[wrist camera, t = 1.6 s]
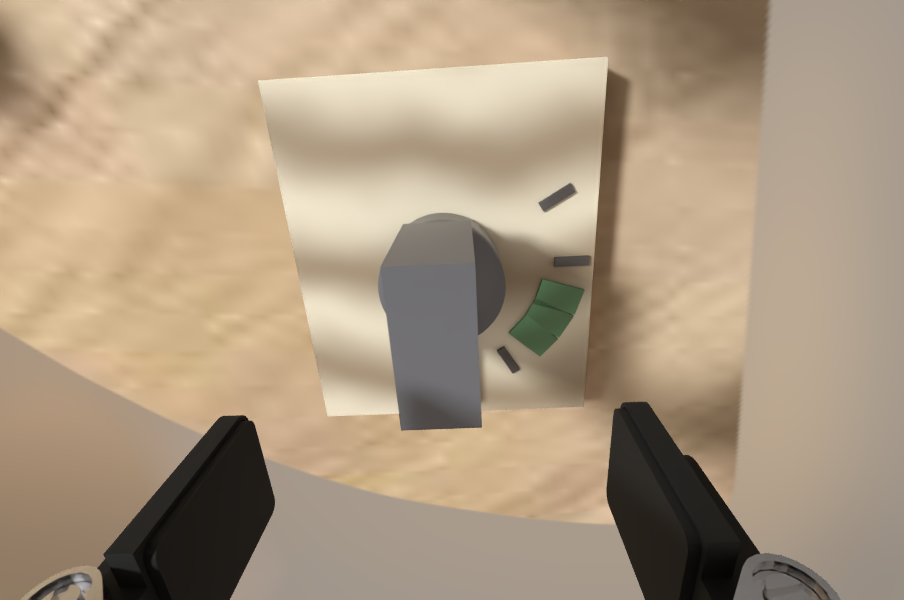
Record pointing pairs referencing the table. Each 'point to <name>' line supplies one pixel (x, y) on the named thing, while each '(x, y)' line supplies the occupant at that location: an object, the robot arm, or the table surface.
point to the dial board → (445, 191)
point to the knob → (440, 317)
